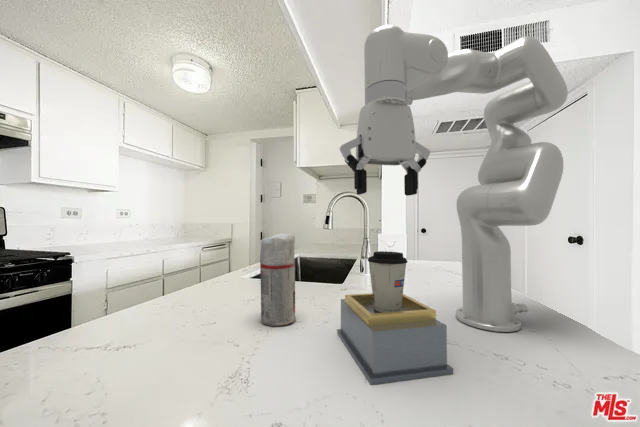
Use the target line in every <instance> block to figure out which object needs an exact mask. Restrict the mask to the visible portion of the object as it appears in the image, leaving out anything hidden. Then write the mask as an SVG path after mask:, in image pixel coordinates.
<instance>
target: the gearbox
mask: <svg viewBox="0 0 640 427" xmlns="http://www.w3.org/2000/svg"><path fill="white" fill-rule="evenodd" d="M447 330H448V329H447V324H445V323H443V322H441V321H440V320H438V319H437V310H435V309H434V308H432V307H429V306H428V305H425V303H422V302H420V301H418V300H416V299H414V298H412V297H410V296H408V295H406V294H404V293H403V296H402V305H401V311H399V312H385V313H382V312H379V311H376V310H375V308H374V300H373V292H371V293H356V294H355V293H353V294H344V298H343V299H340V328H339V329H336V333H337V335H338V337H339V338H340V340H341V341H342V343H343V345H344V346H345V348H346V349H347V351H348V352H349V354H350V356H351V357H352V359H353V360H354V362H355V363H356V364H357V366H358V368H359V369H360V371H361V372H362V374H363V376H364V377H365V378H366V380H367V382H369V384H370V386H375V385H381V384H389V383H396V382H405V381H411V380H419V379H425V378H426V379H427V378H434V377H440V376H441V377H442V376H448V375H453V374H454V368H453V367H452V366H451V365H449V363H448V357H447V356H448V348H447V347H448V346H447V345H448V342H447V341H448V340H447V339H448V338H447V337H448V336H447V335H448V334H447V332H448V331H447Z"/></svg>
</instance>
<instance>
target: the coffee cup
mask: <svg viewBox="0 0 640 427" xmlns="http://www.w3.org/2000/svg"><path fill="white" fill-rule="evenodd" d="M367 262H368V265H369V266H368V267H369V274H370V282H371V283H370V284H371V291H372V292H371V293H373V300H374V308H375V310H376V311H379V312H382V313H385V312H399V311H401V305H402V296H403V294H404V287H405V279H406V268H407V263H408V260H407V258H406V257H404V253H403V252H398V251H389V250H388V251H387V250H385V251H380V250H379V251H374V252H373V254H372V256H368V258H367Z"/></svg>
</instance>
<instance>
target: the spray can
mask: <svg viewBox="0 0 640 427" xmlns="http://www.w3.org/2000/svg"><path fill="white" fill-rule="evenodd" d="M295 237H296V236H295V234H293V233H289V234H286V233H277V234H275V235H271V236H269V237H264V238H263V239H262V240H261V244H260V256H259V260H260V261H259V263H260V264H259V265H260V266H259V267H260V272H259V273H260V318H261V323H262V324H263V325H265V326H269V327H279V326H285V325H289V324H293V323H295V321H296V319H297V317H296V265H295V262H296V261H295V243H296V241H295V240H296V238H295Z"/></svg>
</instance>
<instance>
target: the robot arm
mask: <svg viewBox="0 0 640 427" xmlns="http://www.w3.org/2000/svg"><path fill="white" fill-rule="evenodd" d="M363 49H364V52H363V53H364V56H363V57H364V106H362V107H361V108H360V110H359V116H358V122H357V129H356V138H354V139H351V140H349V141H347V142H345V143H343V144H341V146H339V151H340V153H341V155H342V158H344V162H345V164H347V165H348V167H349V168H350V169H351V171H352V172H353V175H354V176H353V177H354V181H353V182H354V190H356V195H364V194H366V193H367V190H368V189H367V186H368V184H367V183H368V181H367V170H366V169H365V167H366V166H367V165H375V166H400V165H401V167H402V168H403V170H404V171H405V172H406V174H404V180H403V181H404V185H403V186H404V195H405V196H408V197H409V196H413V195H417V194H418V188H419V177H418V176H419V173H420V172H421V170H422V169H423V168H424V167H425V166H426V164H427V160H428V159H429V157H430V154H431V151H430V149H428V148H427V147H426V146H423V145H422V144H420V143H419V142H417V141H416V131H415V124H414V117H413V113H412V109H411V106H412V104H413V101H420V100H424V99H430V98H435V97H440V96H445V95H451V94H453V93H468V94H479V95H480V94H483V95H484V94H490V93H495V92H497V91H499V90H501V89H504V88H506V87H508V86H511V85H512V84H515V83H518V82H520V81H522V80H524V79H529V82H527V83H525V84H524V83H523V84H521V85H519V86H517V87H514V88H512V89H509V90H507V91H505V92H502V93H500V94H498V95H496V96H495V97H493V98H492V99H490V100H489V101H488V102H487V103H486V104H485V107H484V109H483V118H484V119H483V120H484V123H485V126H486V129H487V131H488V134H489V136H490V137H489V138H490V141H491V142H490V144H489V147H488V150H487V151H486V154H485V156H484V158H483V160H482V162H481V164H480V167H479V169H478V173H477V174H478V175H477V179H478V183H479V185H474V186H471V187H469V188H468V187H467V188H466V189H464V190H463V191H461V192H460V193H459V195H458V196H457V199H456V211H457V212H456V213H457V216H458V220H459V226H460V233H461V234H460V235H461V261H462V262H461V270H462V272H461V273H462V275H461V276H462V278H461V279H462V308H458V309H457V310H456V311H455V317H456V319H457V320H459V321H460V322H461V323H464V324H466V325H468V326H471V327H473V328H477V329H480V330H485V331H492V332H501V333H509V332H510V333H512V332H517V331H519V330H521V328H522V323H521V320H520V319H518V318H517V317H516V315H517V314H519V313H520V314H522V313H523V314H524V313H528V312H529V308H528V305H527V304H525V303H514V302H512V267H511V266H512V265H511V264H512V263H511V261H512V259H511V255H512V254H511V253H512V252H511V244H510V241H509V239H508V238H507V237H506V235H505V233H504V232H503V231H502V230H501V228H500V227H501V226H503V227H505V226H509V227H510V226H512V227H513V226H514V227H515V226H516V227H522V226H526V227H529V226H536V225H537V226H538V225H540V224H542V223H543V222H545V221H546V219H547V218H548V216H549V215H550V212H551V210H552V207H553V206H554V202H555V198H556V195H557V192H558V190H559V186H560V183H561V181H562V177H563V174H564V156H563V154H562V151H561V150H560V148H559V147H558V146H557V145H555V144H553V142H552V143H551V142H547V141H545V142H544V141H541V142H540V141H539V142H534V143H532V138H531V137H530V135H529V134H528V133H526V132H525V131H524V130H523V129H521V128H519V127H517V126H515V124H516V123H521V122H523V121H527V120H529V119H533V118H537V117H540V116H543V115H547V114H550V113H552V112H555V111H556V110H559V109H560V108H561V107H563V105H564V104H565V103H566V101H567V99H568V92H569V91H568V86H567V83H566V81H565V79H564V77H563V76H562V74H561V72H560V71H559V68H558V67H557V65H556V64H555V62H554V60H553V58H552V56H551V55H550V53H549V52H548V51H547V49H546V48H545V46H544V45H543V44H542V43H541V41H539V40H538V39H537V38H535V37H534V36H531V35H524V36H522V37H520V38H517V39H515V40H513V41H511V42H510V43H508V44H506V45H505V46H502V47H501V48H499V49H497V50H495V51H493V52H486V51H480V50H475V49H472V48H464V49H463V48H462V49H459V50H456V51H453V52H450V53H449V51H448V47H447V45H446V44H445V43H444V42H443V40H441V39H440V38H439V37H437V36H434V35H431V34H426V33H415V32H409V31H404V30H403V29H402V28H401V27H399V26H397V25H394V24H393V25H392V24H386V25H381V26H378V27H377V28H375V29H373V30H372V31H371V32H369V34H368V35H367V37H366V38H365V41H364V48H363ZM354 148H355V156H354V155H353V154H352V151H351V150H352V149H354ZM416 154H417V155H418V158H417V160H416V159H415V157H416Z"/></svg>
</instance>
